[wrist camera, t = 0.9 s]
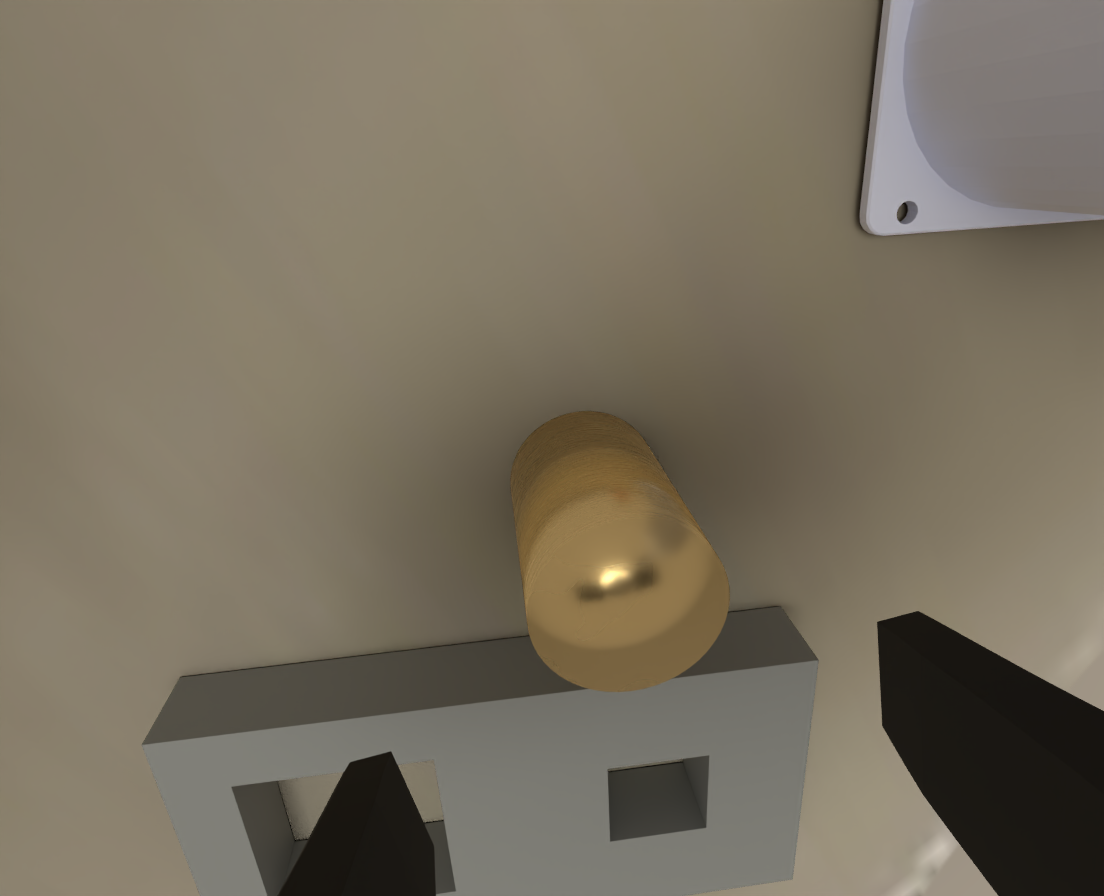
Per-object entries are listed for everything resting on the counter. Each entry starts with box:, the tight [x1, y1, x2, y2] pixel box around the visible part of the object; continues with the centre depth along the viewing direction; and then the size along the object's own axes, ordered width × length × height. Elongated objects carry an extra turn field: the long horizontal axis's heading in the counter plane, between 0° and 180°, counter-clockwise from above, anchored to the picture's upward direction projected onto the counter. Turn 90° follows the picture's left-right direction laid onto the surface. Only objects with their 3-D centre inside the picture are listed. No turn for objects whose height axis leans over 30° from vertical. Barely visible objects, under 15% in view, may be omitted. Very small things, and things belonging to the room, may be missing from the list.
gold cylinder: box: [510, 411, 730, 692], centre depth 16 cm, size 4×4×6 cm
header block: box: [142, 606, 819, 896], centre depth 21 cm, size 18×9×2 cm, turn 93°
